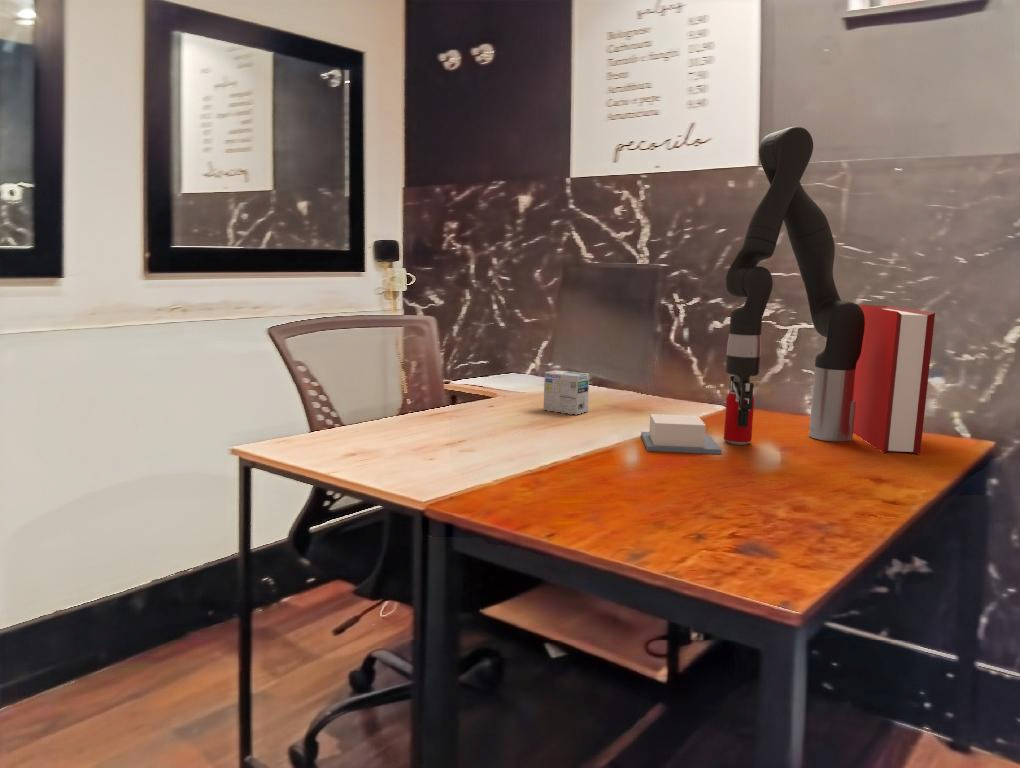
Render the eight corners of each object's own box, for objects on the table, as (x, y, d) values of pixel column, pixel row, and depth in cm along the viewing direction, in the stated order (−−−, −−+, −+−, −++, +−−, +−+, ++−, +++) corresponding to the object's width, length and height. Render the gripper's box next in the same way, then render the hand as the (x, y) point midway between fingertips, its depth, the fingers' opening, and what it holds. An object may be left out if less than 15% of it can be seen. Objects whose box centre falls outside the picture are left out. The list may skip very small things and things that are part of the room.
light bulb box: (588, 412, 229) (590, 373, 227) (577, 415, 223) (578, 375, 222) (554, 407, 235) (555, 369, 233) (542, 410, 229) (543, 371, 227)
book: (920, 455, 189) (935, 312, 184) (883, 453, 190) (897, 311, 185) (878, 430, 216) (890, 305, 211) (846, 429, 216) (858, 304, 212)
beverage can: (748, 440, 199) (752, 390, 197) (753, 446, 193) (757, 394, 191) (721, 439, 199) (725, 389, 198) (725, 444, 193) (729, 393, 191)
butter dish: (708, 438, 199) (710, 413, 198) (721, 454, 183) (723, 427, 183) (641, 435, 200) (642, 410, 199) (647, 450, 184) (649, 424, 184)
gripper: (767, 358, 186) (761, 430, 188) (753, 351, 200) (748, 418, 202) (733, 356, 186) (727, 428, 188) (721, 349, 200) (716, 416, 203)
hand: (738, 423), depth 195 cm, fingers open, 8 cm apart
